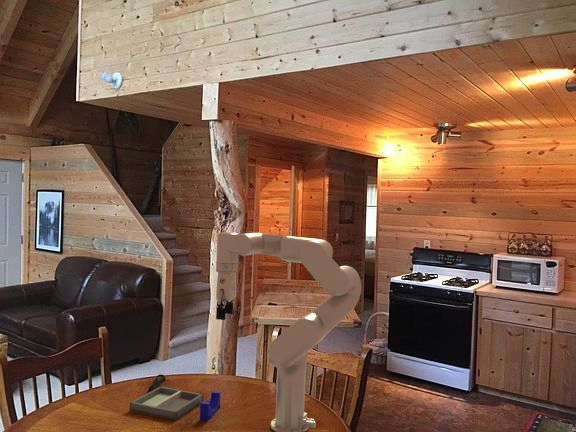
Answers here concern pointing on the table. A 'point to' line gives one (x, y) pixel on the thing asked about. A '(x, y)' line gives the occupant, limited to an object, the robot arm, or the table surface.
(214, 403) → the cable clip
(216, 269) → the robot arm
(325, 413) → the table surface
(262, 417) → the table surface
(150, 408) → the organiser tray
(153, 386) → the electric trimmer
